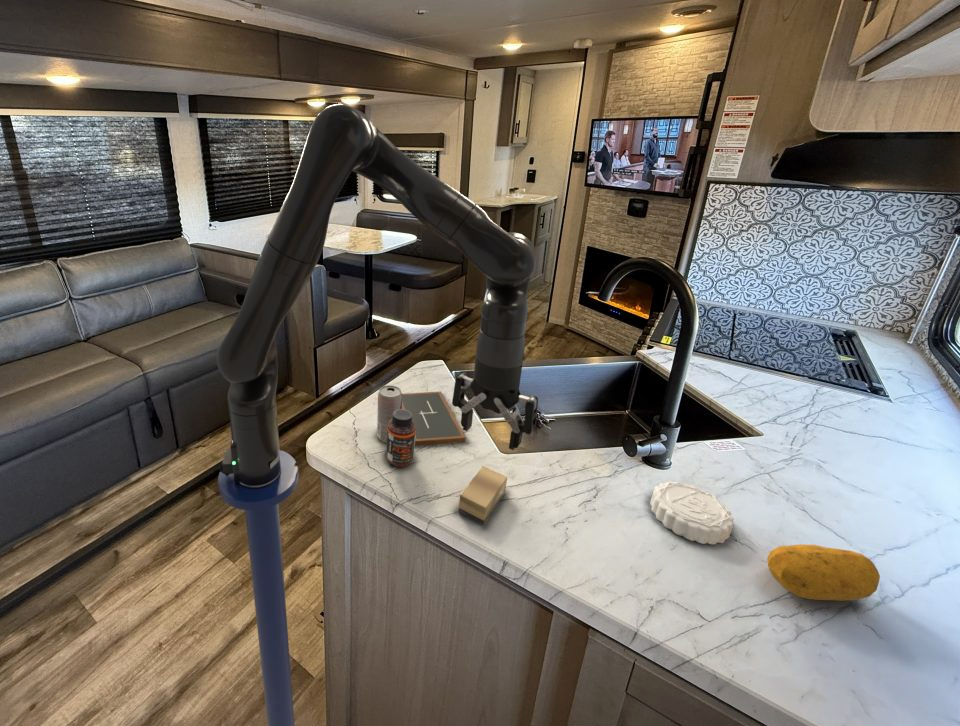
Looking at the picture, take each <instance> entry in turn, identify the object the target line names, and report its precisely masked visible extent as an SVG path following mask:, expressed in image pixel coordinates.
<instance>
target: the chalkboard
mask: <svg viewBox="0 0 960 726" xmlns="http://www.w3.org/2000/svg"><path fill="white" fill-rule="evenodd" d="M402 409H405V410H408V411H409V412H411V414H412V420H413V422H414V423H415V425H416V433H415V447H416V446H427V445H428V446H429V445H441V444H443V445H444V444H456V443H466V442H467V437H466V435H465V433H464V430H463V428H461V425H460V424H459V422H458V420H457V419H456V417H455V415H454V413H453V411H452V410H451V408H450V405H449V404H448V402H447V400H446V398H445V396H444V394H443V393H442V391H440V390H439V391H429V392H428V391H426V392H409V393H402Z"/></svg>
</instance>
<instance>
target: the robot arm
mask: <svg viewBox="0 0 960 726" xmlns="http://www.w3.org/2000/svg"><path fill="white" fill-rule="evenodd" d="M302 150H303V151H302V153H301V156H300V160H299V163H298V166H297V169H296V173H295V175H294V177H293V178H294V179H293V182H292V184H291V186H290V189H289V190H288V193H287V195H286V196H285V199H284V201H283V203H282V205H281V207H280V210H279V212H278V213H277V216H276V219H275V221H274V224H273V225H272V228H271V230H270V232H269V234H268V236H267V238H266V240H265V242H264V245H263V247H262V250H261V253H260V255H259V257H258V259H257V263H256V265H255V268H254V270H253V273H252V275H251V278H250V281H249V284H248V287H247V289H246V292H245V295H244V300H243V302H242V304H241V307H240V309H239V311H238V313H237V315H236V317H235V319H234V321H233V323H232V325H231V326H230V327H229V328H230V329H229V330H228V332H227V333H226V335H225V336H224V338H223V340H222V342H221V343H220V344H219V346H218V349H217V352H216V366H217V369H218V371H219V374H220V375H221V376H222V377H223V378H224V379H225V380H226V381H227V382H229V383H230V384H229V388H228V390H227V394H226V395H227V396H226V397H227V408H228V417H229V424H230V433H231V442H230V446H229V447H230V448H229V449H225V452H224V456H223V460H222V461H221V462H220V464H219V466H218V470H219V471H221V472H222V473H223V474H225V475H226V476H228V475H229V474H232V473H233V475H234V484H235V485H241V486H243V487H245V488H249V489H259V488H264V487H267V486H269V485H271V484H272V483H274V482H275V481H276V480H277V479H278V478H279V476H280V474H281V462H280V451H279V450H280V437H279V423H278V409H277V388H278V384H279V383H278V380H279V379H278V378H279V375H278V373H279V372H278V349H277V343H276V339H275V337H276V335H277V332H278V330H279V328H280V326H281V325H282V322H284V320H285V318H286V317H287V316H288V314H289V313H290V311H291V309H292V308H293V306H294V305H295V304H296V302H297V301H298V299H299V297H300V296H301V294H302V293H303V292H304V289H305V287H306V286H307V284H308V283H309V281H310V279H311V277H312V275H313V273H314V270H315V268H316V267H317V264H318V262H319V260H320V257H321V255H322V253H323V250H324V246H325V243H326V240H327V239H326V238H327V234H328V228H329V222H330V217H331V213H332V210H333V207H334V204H335V202H336V200H337V198H338V195H339V194H340V192H341V190H342V189H343V187H344V185H345V183H346V181H347V180H348V178H349V176H350V175H351V173H352V172H353V173H355V174H358V175H360V176H361V177H363V178H366V179H367V180H370V181H371V182H372V183H374V184H376V185H377V186H379V187H380V188H381V189H383V190H385V192H387V193H388V194H390V195H391V196H392V197H393V198H394V199H395V200H397V201H398V202H399V203H400V204H401V205H402V206H403V207H404V208H405V209H406V210H407V211H408V212H409V213H410V214H411V215H412V216H413V217H414V218H416V219H417V220H418V221H419V222H420V223H421V224H422V225H424V226H425V227H427V228H428V229H429V230H430V231H432V232H433V234H436V235H437V236H438V237H440V238H441V239H442V240H444V241H445V242H447V244H450V245H451V246H453V247H454V248H455V249H457V250H458V251H459V252H460V253H461V254H462V255H463V256H464V257H465V258H466V259H467V260H468V261H469V262H470V263H471V264H473V266H474V267H475V268H476V269H478V271H480V272H481V273H482V274H483V275H484V276H485V277H486V281H485V293H484V298H483V302H482V306H481V313H480V321H479V322H480V323H479V331H478V334H477V340H476V347H475V356H474V357H475V358H474V369H473V378H471V377H469V376H468V374H467V373H466V372H462V373H461V374H460V375H458V376H457V377H456V378H455V381H454V387H453V394H452V401H451V404H452V406H453V407H455V408H459V409H460V412H461V415H460V416H461V418H460V427H462V431H465V432H468V431H469V430H470V429H471V428H472V425H473V417H474V408H476V407H477V406H478V405H479V406H481V408H482V409H484V410H489V411H492V412H493V413H496V414H498V415H500V414H501V415H502V417H503V419H504V420H505V422H506V423H508V424H509V426H510V428H511V431H510V437H509V443H508V449H509V450H511V451H514V450H515V449H518V447H519V446H520V445H521V444H522V440H523V433H525V434H526V435H531V434H532V433H533V431H534V429H535V428H536V427H537V419H538V407H539V398H538V396H537V395H531V396H530V397H529V396H527V395H522V394H521V391H520V386H521V385H520V384H521V378H522V377H521V376H522V372H523V371H522V369H523V365H524V364H523V363H524V359H525V348H526V338H525V337H526V329H527V321H528V312H529V310H528V293H529V289H530V282H531V278H532V276H533V275H534V272H535V270H536V265H537V263H536V262H537V260H536V253H535V247H534V246H533V243H532V242H531V240H530V239H529V238H528V237H526V236H525V235H523V234H522V233H519V232H513V231H512V232H507V230H505V229H503V228H502V227H501V226H499V225H498V224H496V222H493V220H492V219H491V218H490V217H489V215H488V213H487V212H486V211H485V210H483V208H481V207H480V206H479V205H478V204H476V203H475V202H473V201H472V200H471V199H469V198H468V196H465V195H464V194H462V193H461V192H460V191H458V190H457V189H455V188H454V187H453V186H452V185H449V184H448V183H446V182H445V181H443V180H442V179H441V178H439V177H438V176H436V175H434V174H432V173H431V172H430V171H428V170H426V169H425V168H423V166H421V165H419V164H418V163H416V162H415V161H414V160H412V159H411V158H410V157H409V156H407V155H406V153H404V152H403V151H402V150H400V149H399V148H398V147H397V146H396V145H395V144H394V143H392V141H390V139H388V137H387V136H386V135H384V134H383V132H382V131H381V130H380V129H379V128H378V127H377V126H376V125H375V123H373V121H372V120H371V118H370V117H369V116H367V114H366V113H364V112H362V111H360V110H359V109H356V108H355V107H353V106H350V105H348V104H343V103H338V104H337V103H336V104H331V105H329V106H327V107H325V108H324V109H322V110H321V111H320V112H319V113H318V114H317V116H316V117H315V118H314V120H313V122H312V123H311V126H310V128H309V131H308V133H307V138H306V140H305V143H304V147H303V149H302ZM469 386H470V389H471V391H472V393H473V395H474V396H473V397H472V398H470V399H469V400H467V399H465V396H466V390H467V389H468V387H469ZM518 403H520V405H521V408H522V410H523V411H524V419H523V418H522V416H521V411H520V408H519V407H518V405H517V404H518Z"/></svg>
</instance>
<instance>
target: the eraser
mask: <svg viewBox="0 0 960 726" xmlns="http://www.w3.org/2000/svg"><path fill="white" fill-rule="evenodd" d="M507 480H508V476H507V475H505V474H502V473H500V472H497V471H495V470H493V469H491V468H488V467H487V466H484V465H482V466H481V468H479V470H478V471H477V473H476V474H475V475H474V477H473V478H472V479H471V480H470V482H469V483H468V484H467V486H466V487H465V488H464V489H463V491H462V492H461V493H460V494H459V500H458V509H457V510H458V513H460V514H461V515H463V516H465V517H467V518H468V519H471V520H473V521H475V522H476V523H478V524H480V525H482V526H485V524H486V523H487V521H488V520H489V518H490V517H491V516H492V513H493V512H494V511H495V509H496V508H497V506H498V505H499V503H500V501H501V500H502V498H504V495H505V494H506V489H507Z"/></svg>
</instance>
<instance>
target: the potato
mask: <svg viewBox="0 0 960 726" xmlns="http://www.w3.org/2000/svg"><path fill="white" fill-rule="evenodd" d="M766 561H767V567H768V569H769V572H770V574H771V576H772V577H773V578H774V579H775V580H776V581H777V582H778V583H779V585H781V587H783V588H784V589H786V590H787V591H789V592H790V593H792V594H793V595H795V596H797V597H799V598H803V599H808V600H814V601H815V600H816V601H838V602H839V601H840V602H841V601H843V602H845V601H856V600H862V599H866V598H869V597H871V596H872V595H873V594H874V593H876V591H877V590H878V587H879V583H880V579H881V576H880V573H879V570H878V569H877V568H878V567H876V565H875V563H874V562H873V561H872V560H871V559H870V558H868V557H867V556H865V554H863V553H859V552H856V551H852V550H848V549H847V550H846V549H840V548H833V547H826V546H821V545H816V544H792V545H779V546H777V547H775V548H773V549H772V550H770V551H769V553H768V555H767V560H766Z"/></svg>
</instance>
